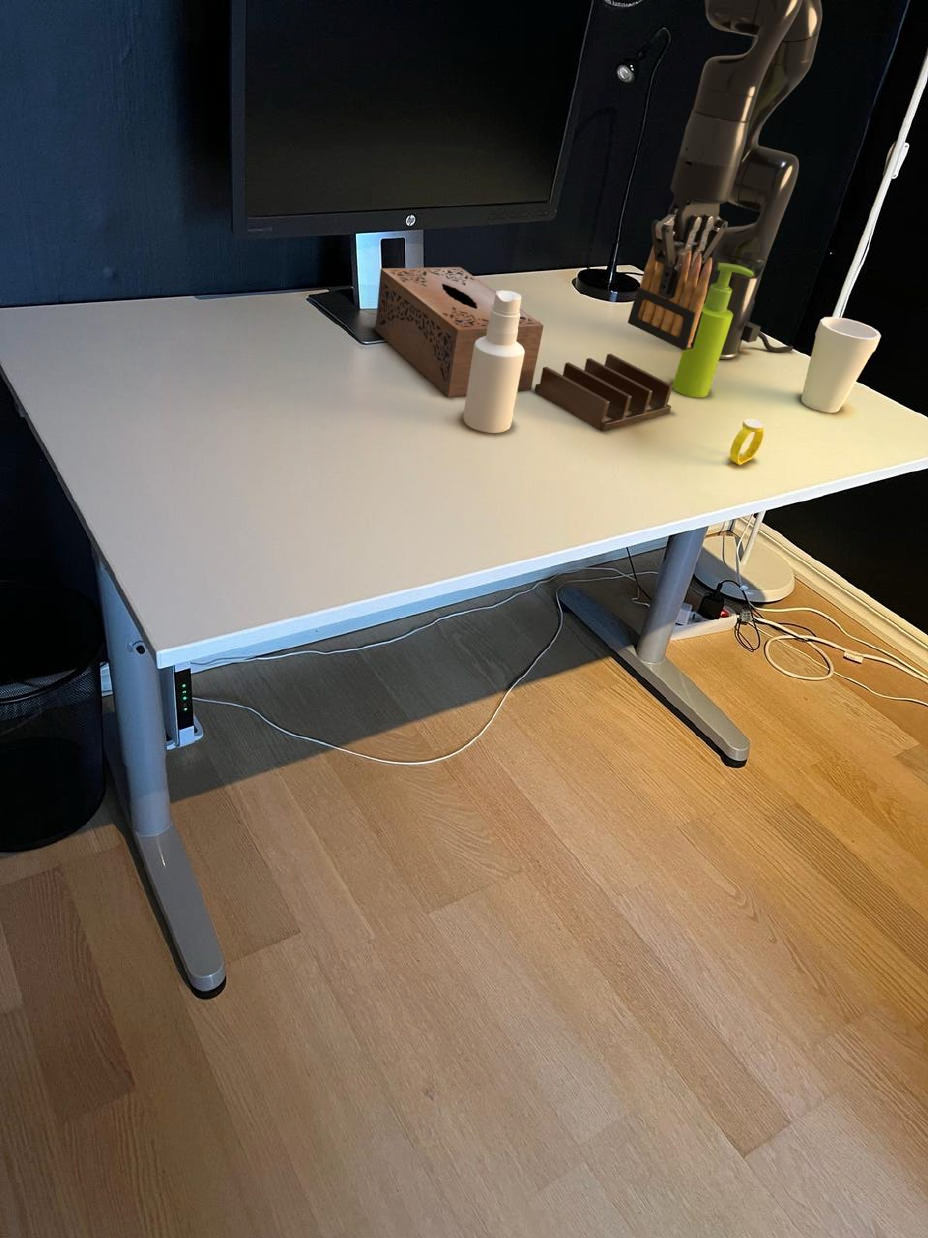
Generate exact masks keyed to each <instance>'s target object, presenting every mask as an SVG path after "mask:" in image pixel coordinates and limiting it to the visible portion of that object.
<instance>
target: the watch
mask: <svg viewBox="0 0 928 1238" xmlns="http://www.w3.org/2000/svg"><path fill="white" fill-rule="evenodd" d="M752 433H753V438H752V440H751V442H750V443H749V445H748V447H747V448H746V450H745V451H744V453H743V454H740V453H741V450H742V448H743V445H744V444H745V442H746V441H747V438H748V437H749V436H750V435H751V434H752ZM764 437H765V427H764V424H763V422H761V421H760V420H757V419H752V418H747V419H744V420H743V422H742V427H741V429H740V430H739V432H738V433H737V434H736V436H735V437H734V439H733V442H732V443H731V447H730V449H729V460H730V461H731V462H733V463H734V464H736V465H738V466H740V465H743V464H744V463H746V462H748V461H752V459H753V458H754V457H755V455H757V452H758V451H759V449H760V447H761V446H762V443H763V440H764Z"/></svg>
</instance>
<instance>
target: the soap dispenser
mask: <svg viewBox="0 0 928 1238" xmlns="http://www.w3.org/2000/svg"><path fill="white" fill-rule="evenodd" d="M718 270H721V271H720V274H719V278H718V281H717V283H714V284H712V285H710V288H709V292H708V295H707V298H706V302H705V304H703V307H702V310H701V311H703V314H702V317H701V321H700V325H699V329H698V332H697V336H696V340H695V344H694V348H693V349H689V350H682V352H681V355H680V358H679V362H678V365H677V368H676V371H675V376H674V378H673V382H672V386H673V387H672V389H673V390H674V391H676V392H677V393H679V394H681V395H683V396H687V397H690V398H691V397H692V398H706V397H707V396H708V395H709V392H710V389H711V387H712V383H713V381H714V376H715V373H716V371H717V368H718V364H719V360H720V359H719V358H720V355H721V352H722V349H723V345H724V342H725V339H726V336H727V333H728V330H729V327H730V323H731V320H732V317H733V313H732V312H731V311H729V310H728V309H727V306H728V302H729V299H730V296H731V293H732V289H731V288H730V287H729V286H728V283H729V280H730V277H731V274H732V272H736V273H741V274H744V275H746V276H749V277H752V276H754V274H753V272H752V271H751V270H749V269H747V268H745V267H742V266H738V265H734V264H726V263H719V264H718Z"/></svg>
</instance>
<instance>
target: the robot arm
mask: <svg viewBox="0 0 928 1238" xmlns="http://www.w3.org/2000/svg"><path fill="white" fill-rule="evenodd" d="M703 6H704V7H703V10H704V13H705V17H706V19H707V21H708V22H709V24H710V25H711V26H712V27H714V28H715V29H717V30H720V31H723V32H728V33H734V34H739V35H744V36H749V37H751V40H750V45H749V50H748V51H747V52H745V53H743V54H738V55H737V54H736V55H719V56H718V55H717V56H713V57H711V58H709V59H708V60H706V62H705V64H704V66H703V69H702V72H701V74H700V78H699V82H698V87H697V90H696V94H695V97H694V102H693V106H692V110H691V113H690V116H689V118H688V121H687V123H686V125H685V129H684V132H683V136H682V140H681V144H680V147H679V150H678V151H679V152H678V155H677V159H676V163H675V167H674V170H673V175H672V179H671V182H670V187H669V188H670V191H671V192H672V193H673V197H674V198H673V201H672V203H671V205H670V207H669V208H668V211H667V216H666V217H664V218H663V219H662V220H658V219H654V220H653V221H652V223H651V224H650V231H651V238H652V247H653V248H654V256H655V261H656V262H658V263H661V264H663V265H664V270H663V274H662V278H661V282H660V285H659V295H660V296H663V297H665V298H667V299H671V298H673V297H674V295H675V292H676V288H677V285H678V281H679V278H680V274H681V271H680V270H681V268H682V265H683V262H684V259H685V256H686V254H687V253H689V252H690V250H691V261H690V266H689V270H688V275H687V279H688V276H689V273H690V270H691V267H692V265H693V262H694V260H695V258H696V257H697V255H698V254H699V253H701V265H702V264H705V263H706V262H707V260H708V259H709V258H710V257H711V258H712V268H711V273H710V277H709V282H708V286H707V293H706V297H705V300H704V303H703V304H705V302H706V298H707V295H708V292H709V288H710V285H712V284H714V283H717V281H718V278H719V274H720V271H721V270H718V264H719V263H726V264H734V265H738V266H742V267H745V268H747V269H749V270H751V271H752V272H753V274H754V276H752V277H749V276H746V275H744V274H741V273H736V272H732V274H731V277H730V280H729V283H728V286H729V287H730V288H731V289H732V293H731V296H730V299H729V302H728V306H727V309H728V310H729V311H731V312H732V313H733V317H732V320H731V323H730V327H729V330H728V333H727V336H726V339H725V342H724V345H723V349H722V352H721V355H720V358H719V360H728V359H729V360H730V359H734V358H735V357H736V356H737V355H738V353H739V352H740V348H741V346H742V342H746V343H748V344H750V343H753V342H756V341H757V340H758V338H760V339H761V341H762V344H763V346H764V348H765V349H766V350H767V351H769V352H772V353H784V352H792V351H793V350H794V346H793V345H786V346H780V347H775V346H773V345H771V344H770V342H769V339H768V337H767V336H766V334H764V333H763V332H762V331H761V326H760V325H758V324H755V323H753V322H751V321H750V318H751V315H752V314H753V313H752V312H753V310H754V306H755V303H756V301H755V299H756V295H757V291H758V289H759V286H760V282H761V280H762V276H763V273H764V270H765V267H766V264H767V261H768V259H769V256H770V252H771V249H772V246H773V244H774V242H775V239H776V237H777V233H778V230H779V228H780V224H781V222H782V219H783V217H784V214H785V211H786V208H787V206H788V204H789V201H790V199H791V196H792V193H793V191H794V188H795V186H796V182H797V179H798V175H799V168H800V163H799V159H798V157H797V156H796V155H794V154H792V153H790V152H789V153H788V152H786V151H781V150H778V149H774V148H770V147H766V146H761V145H759V138H760V137H759V136H760V134H761V130H762V128H763V126H764V124H765V123H766V121H767V120H768V119H769V117H770V116H771V115H772V113H773V112H774V111H775V110H776V108H777V107H778V106H779V105H780V104H781V103H782V102H783V101H784V100H786V98H787V97H788V96H789V95H790V94H791V93H792V91H794V89H795V88H796V87H797V86H798V85H799V84H800V83H801V81H802V80H803V79H804V78H805V76H806V74H807V73H808V72H809V70H810V68H811V66H812V63H813V60H814V57H815V52H816V47H817V44H818V39H819V35H820V30H821V26H822V21H823V8H822V1H821V0H703ZM725 203H728V204H731V205H733V206H736V207H740V208H744V209H746V210H751V211H754V212H758V213H759V214H758V217H757V218H756V220H755V221H754V222H751V223H749V224H745V225H737V226H729V223H728V221H727V220H725V219H721V217H720V216H719V214H720V205H721V204H725ZM675 250H676V251H677V252H678V254H677V257H676V259H675V253H674V251H675ZM663 251H664V252H665V254H664V252H663Z"/></svg>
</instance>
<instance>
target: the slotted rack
mask: <svg viewBox="0 0 928 1238" xmlns="http://www.w3.org/2000/svg"><path fill="white" fill-rule="evenodd" d="M672 390H673V384H670V383H669V382H666V381H665V380H663V379H661V378H658V377H657V376H655V375H653V374H651V373H649V372H647V371H646V370H643V369H642V368H640V367H638V366H635V365H634V364H632V363H629V362H627V361H626V360H624V359H622V358H620V357H618V356H616V355H614V354H612V353H607V354H606V358H605V362H604V364H603V363H601V362H599V361H597V360H594V359H593V358H592V357H588V358H586V361H585V364H584V369H583V368H580V367H578V365H577V366H576V365H575V364H573V363H572V362H565V363H564V367H563V371H562V374H560V373H559V372H557V371H556V370H554V369H552V368H551V367H548V366H543V367H542V370H541V376H540V381H539V383H536V384H535V386H534V390H533V391H534V393H536V394H538V395H539V396H541V397H543V398H544V399H546V400H548V401H550V402H551V403H553V404H555V405H557V406H558V407H560V408H562V409H563V410H565V411H567V412H568V413H571V414H572V415H574V416H576V417H577V418H579V419H581V420H582V421H584V422H586V423H588V424H589V425H591V426H592V427H595V428H596V429H598V430H600V431H601V432H607V431H611V430H614V429H618V428H621V427H626V426H630V425H632V424H637V423H640V422H643V421H648V420H650V419H654V418H657V417H661V416H666V415H669V414H670V413H671V410H672V405H670V404H669V400H670V398H671V394H672ZM649 406H650V407H652V408H649ZM628 411H629V412H631V414H628ZM606 417H609V418H611V419H608V420H606Z"/></svg>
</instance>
